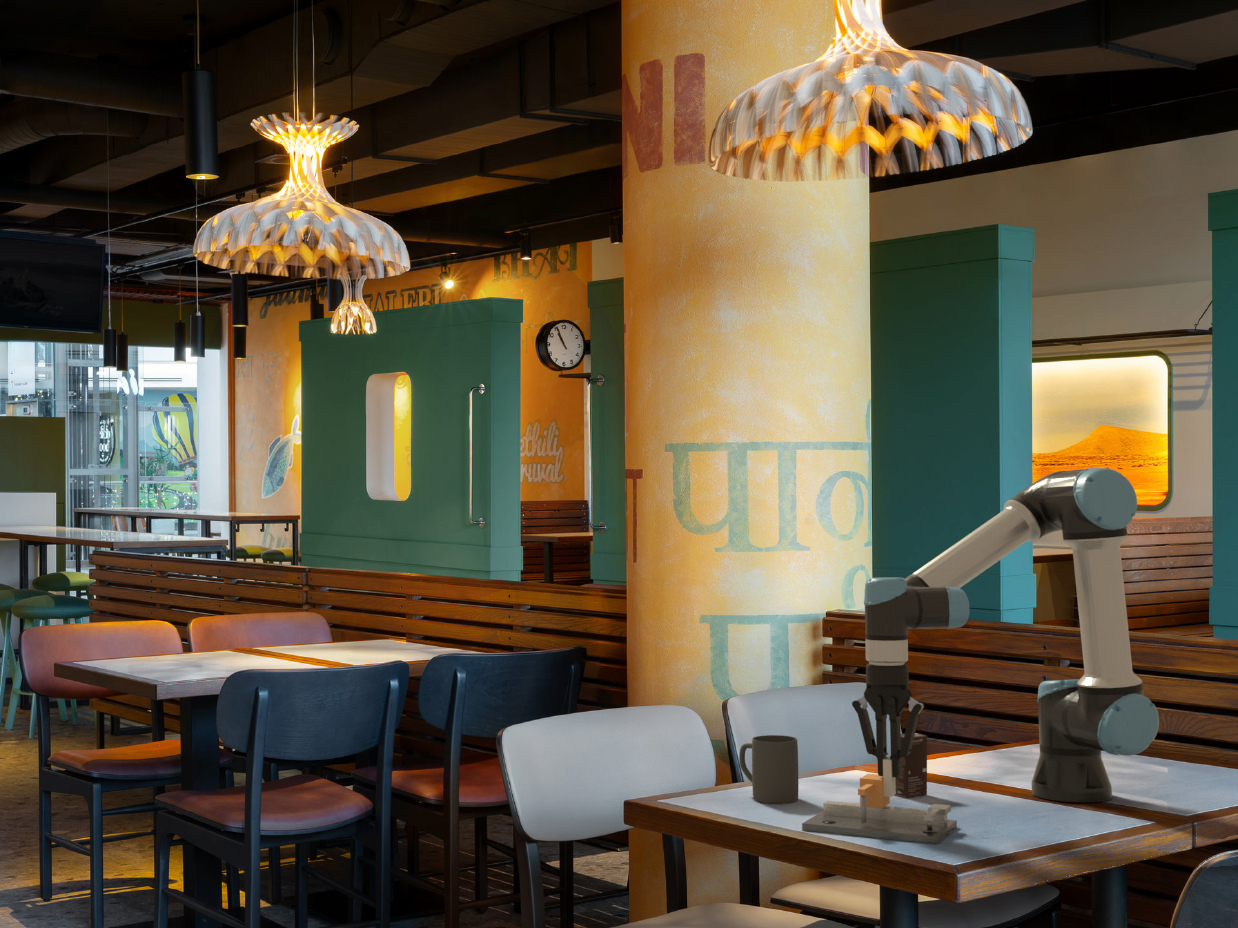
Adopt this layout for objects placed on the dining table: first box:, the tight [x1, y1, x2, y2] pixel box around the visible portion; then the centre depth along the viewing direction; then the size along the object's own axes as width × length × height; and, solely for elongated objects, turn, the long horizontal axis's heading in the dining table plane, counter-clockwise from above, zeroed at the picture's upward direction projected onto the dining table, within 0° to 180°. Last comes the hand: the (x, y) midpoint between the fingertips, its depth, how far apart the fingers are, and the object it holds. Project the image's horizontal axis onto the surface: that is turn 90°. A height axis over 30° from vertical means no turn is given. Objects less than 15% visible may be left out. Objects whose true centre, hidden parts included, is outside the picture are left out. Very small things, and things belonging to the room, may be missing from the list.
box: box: [894, 732, 928, 798], centre depth 257 cm, size 6×4×12 cm
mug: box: [738, 734, 799, 805], centre depth 255 cm, size 14×9×12 cm
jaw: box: [857, 773, 891, 823], centre depth 228 cm, size 4×11×7 cm, turn 152°
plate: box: [801, 810, 958, 845], centre depth 227 cm, size 24×14×1 cm, turn 62°
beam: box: [823, 800, 952, 831], centre depth 227 cm, size 22×10×3 cm, turn 62°
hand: (889, 794), depth 229 cm, fingers closed
